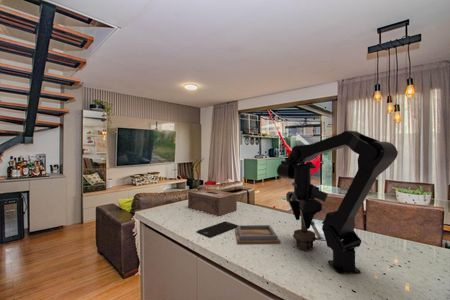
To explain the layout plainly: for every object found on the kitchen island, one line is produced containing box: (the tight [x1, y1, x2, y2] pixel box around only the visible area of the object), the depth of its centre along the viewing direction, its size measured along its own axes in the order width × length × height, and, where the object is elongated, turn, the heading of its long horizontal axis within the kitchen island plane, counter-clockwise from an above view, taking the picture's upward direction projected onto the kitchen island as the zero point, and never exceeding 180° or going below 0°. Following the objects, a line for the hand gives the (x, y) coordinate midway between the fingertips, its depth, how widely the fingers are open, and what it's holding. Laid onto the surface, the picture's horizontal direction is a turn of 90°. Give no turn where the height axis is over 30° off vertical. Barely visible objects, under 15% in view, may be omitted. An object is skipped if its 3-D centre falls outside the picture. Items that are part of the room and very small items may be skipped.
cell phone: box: [196, 220, 238, 239], centre depth 97 cm, size 9×18×1 cm, turn 136°
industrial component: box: [292, 214, 318, 251], centre depth 79 cm, size 9×7×12 cm
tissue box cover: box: [187, 188, 238, 217], centre depth 129 cm, size 26×14×10 cm, turn 48°
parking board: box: [234, 228, 282, 245], centre depth 89 cm, size 14×16×1 cm
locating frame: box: [236, 224, 278, 240], centre depth 89 cm, size 12×14×2 cm
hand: (302, 224), depth 79 cm, fingers open, 9 cm apart
